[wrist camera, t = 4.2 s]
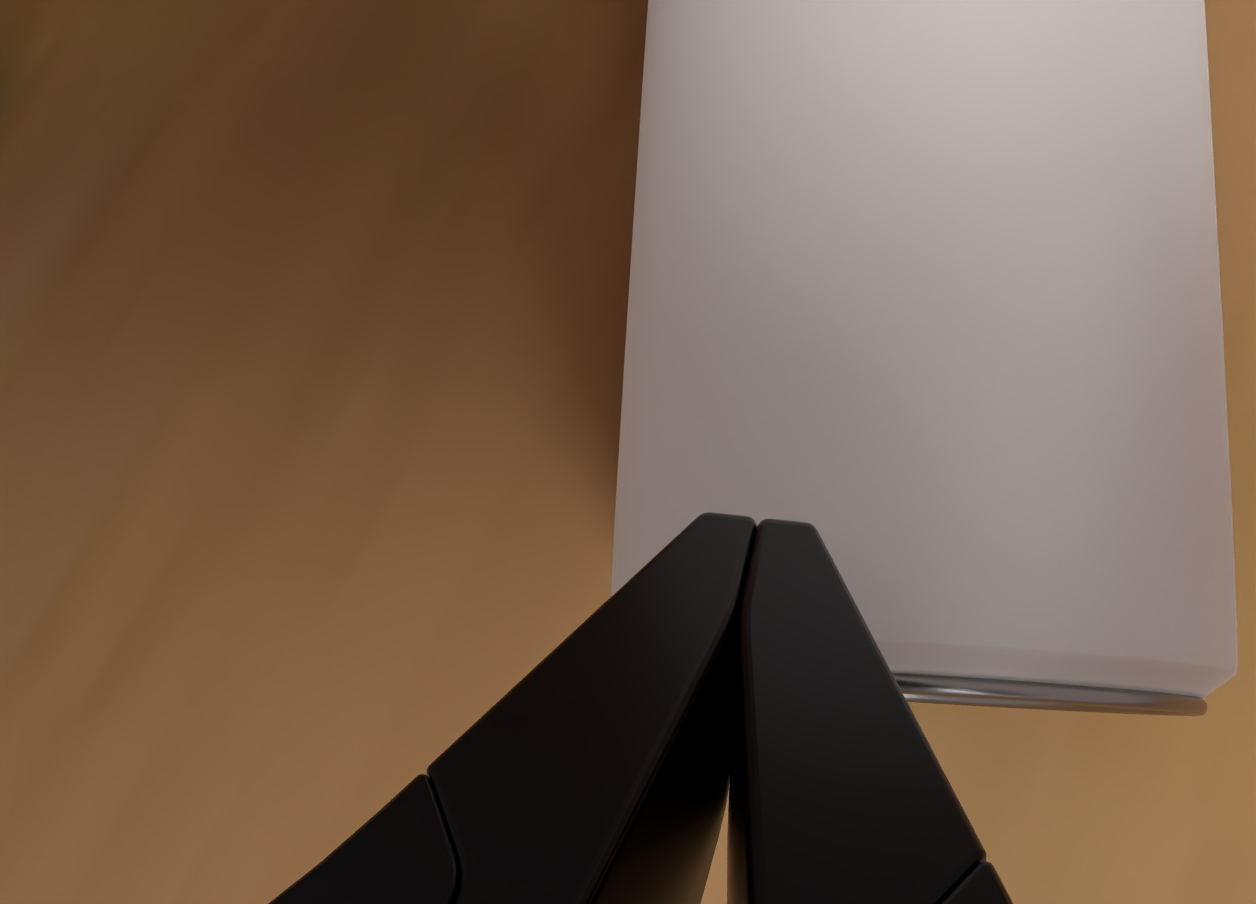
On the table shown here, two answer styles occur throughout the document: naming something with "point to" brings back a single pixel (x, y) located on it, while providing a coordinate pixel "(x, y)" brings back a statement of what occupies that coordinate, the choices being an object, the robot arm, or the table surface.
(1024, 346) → the can
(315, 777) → the table surface
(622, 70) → the table surface
